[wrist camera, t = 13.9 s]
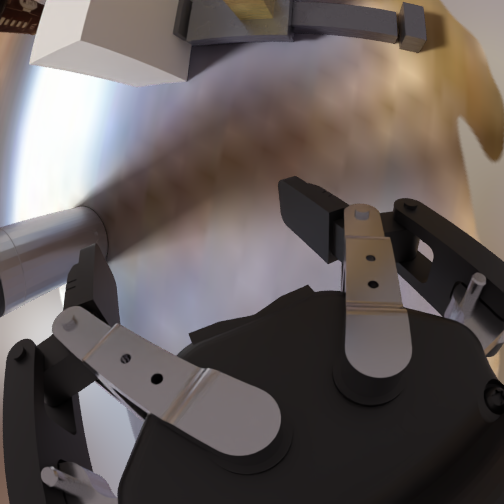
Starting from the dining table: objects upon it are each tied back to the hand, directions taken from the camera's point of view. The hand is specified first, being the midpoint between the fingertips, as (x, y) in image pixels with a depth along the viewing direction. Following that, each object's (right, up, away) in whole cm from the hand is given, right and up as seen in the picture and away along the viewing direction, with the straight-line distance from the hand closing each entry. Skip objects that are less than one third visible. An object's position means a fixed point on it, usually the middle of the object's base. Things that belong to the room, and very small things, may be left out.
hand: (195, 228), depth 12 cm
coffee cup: (-37, +42, +19) cm, 59 cm away
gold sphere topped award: (+2, +23, +12) cm, 26 cm away
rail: (+6, +23, +12) cm, 26 cm away
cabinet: (-8, +25, +15) cm, 30 cm away
